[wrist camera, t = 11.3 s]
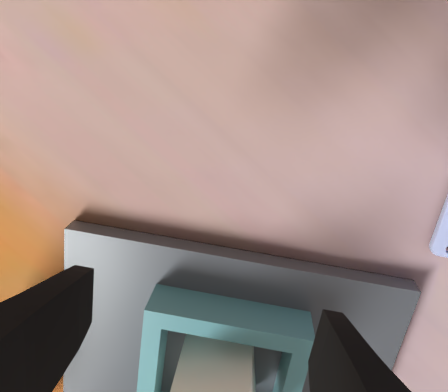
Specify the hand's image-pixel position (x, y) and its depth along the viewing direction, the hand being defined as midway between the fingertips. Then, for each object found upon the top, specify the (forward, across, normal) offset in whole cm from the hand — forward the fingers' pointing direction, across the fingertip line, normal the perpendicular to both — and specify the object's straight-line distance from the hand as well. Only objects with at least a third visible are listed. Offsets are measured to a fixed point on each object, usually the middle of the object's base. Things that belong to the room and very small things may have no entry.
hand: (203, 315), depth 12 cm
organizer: (+10, -1, +10) cm, 14 cm away
